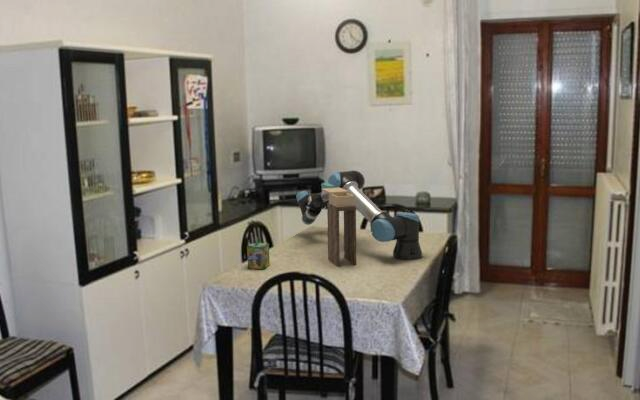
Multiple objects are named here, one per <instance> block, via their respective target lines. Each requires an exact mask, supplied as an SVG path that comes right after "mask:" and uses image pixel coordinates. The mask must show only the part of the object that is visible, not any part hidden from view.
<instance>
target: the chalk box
mask: <svg viewBox="0 0 640 400" xmlns="http://www.w3.org/2000/svg"><path fill="white" fill-rule="evenodd" d="M246 251H247V252H246V253H247V256H246V257H247V269H248V270H266V269H267V268H268V267H269V266H270V264H271V263H270V260H271V259H270V244H269V242H268V243H267V242H260V241H259V238H258V237H256V238H254V242H251V243H250V244H248V245H247V246H246Z"/></svg>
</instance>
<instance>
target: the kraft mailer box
mask: <svg viewBox="0 0 640 400" xmlns="http://www.w3.org/2000/svg"><path fill="white" fill-rule="evenodd" d="M329 203H330V204H332V205H334V206H336V207H344V206H354V196H353V195H351V194H349V193H336V194H329Z"/></svg>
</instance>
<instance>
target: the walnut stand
mask: <svg viewBox="0 0 640 400" xmlns="http://www.w3.org/2000/svg"><path fill="white" fill-rule="evenodd" d="M326 210H327V213H326V214H327V260H328V261H329V262H331V263H332V264H333V265H335V266H336V267H337V268H339V267H341V265H340V264H341V263H340V262H341V261H340V260H341V259H340V212H343V244H344V245H343V250H344V251H343V252H344V253H343V254H344V255H343V256H344V257H343V258H344V259H345V260H347V262H349V263H350V264H352V265H353V266H357V209H356V206H355V205H354V206H344V207H336V206H334V205H332V204H330V203H327V209H326Z"/></svg>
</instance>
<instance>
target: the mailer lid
mask: <svg viewBox="0 0 640 400" xmlns="http://www.w3.org/2000/svg"><path fill="white" fill-rule="evenodd" d="M320 186H321V192H323V191H325V192H327V193H329V194H336V193H349V191H347V190H345V189H342V188H335V186H334V185H332V184H329V183H328V182H324V183H321V184H320Z"/></svg>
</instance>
